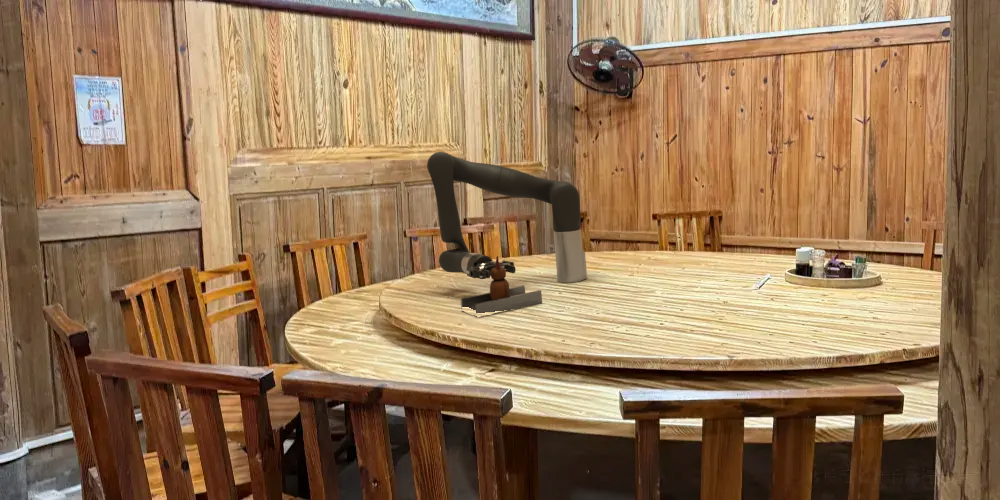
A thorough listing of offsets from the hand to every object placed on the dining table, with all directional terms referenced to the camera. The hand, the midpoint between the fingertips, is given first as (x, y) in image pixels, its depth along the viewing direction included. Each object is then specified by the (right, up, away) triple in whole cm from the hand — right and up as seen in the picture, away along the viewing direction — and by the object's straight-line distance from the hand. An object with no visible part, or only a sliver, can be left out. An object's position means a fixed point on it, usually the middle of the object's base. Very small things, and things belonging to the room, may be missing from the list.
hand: (501, 272), depth 251 cm
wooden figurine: (0, -10, +3) cm, 10 cm away
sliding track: (0, -11, +4) cm, 11 cm away
